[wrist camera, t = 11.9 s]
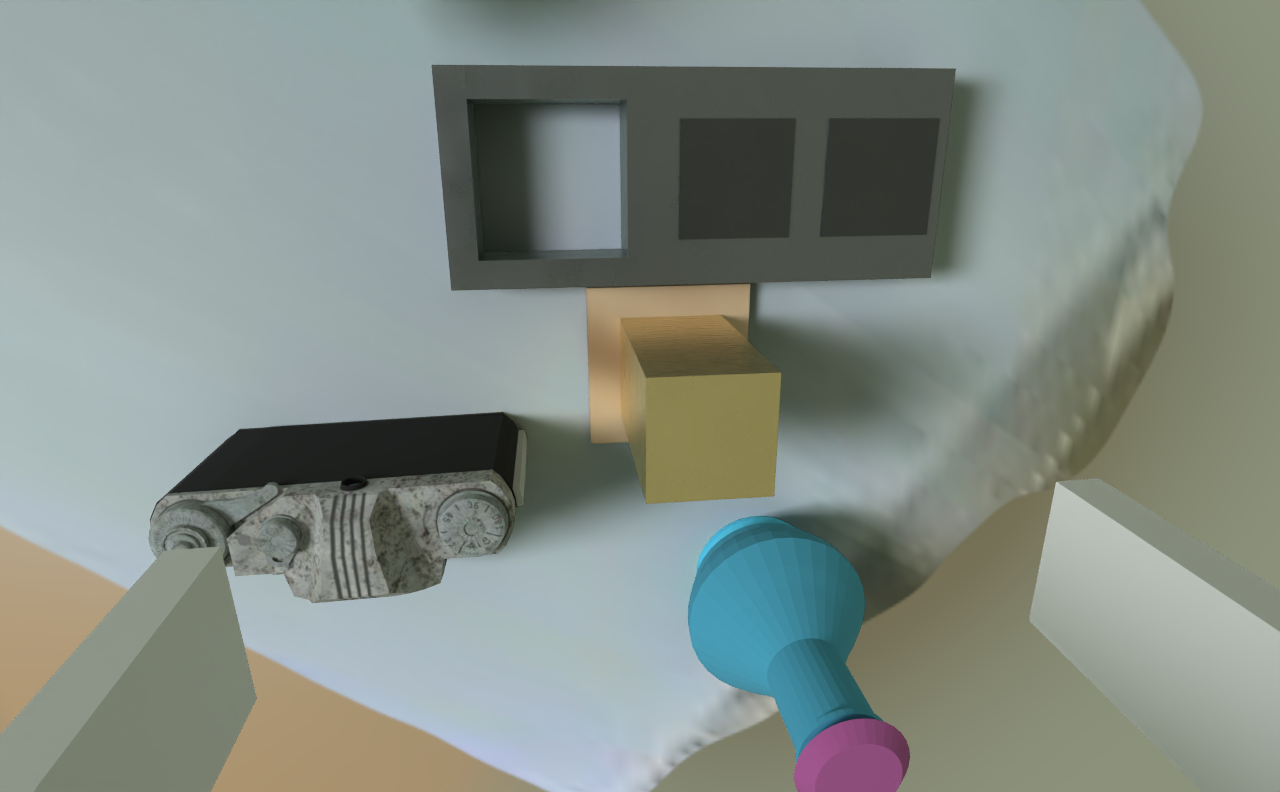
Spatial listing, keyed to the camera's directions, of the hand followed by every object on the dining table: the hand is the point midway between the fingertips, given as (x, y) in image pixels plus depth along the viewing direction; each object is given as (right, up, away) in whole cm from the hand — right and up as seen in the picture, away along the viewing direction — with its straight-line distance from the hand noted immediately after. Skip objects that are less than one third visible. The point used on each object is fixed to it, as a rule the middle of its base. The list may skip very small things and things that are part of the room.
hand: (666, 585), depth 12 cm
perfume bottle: (+6, -7, +30) cm, 32 cm away
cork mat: (+1, +5, +26) cm, 26 cm away
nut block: (+1, +5, +25) cm, 26 cm away
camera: (-14, -1, +26) cm, 29 cm away
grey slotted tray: (+2, +13, +23) cm, 27 cm away
